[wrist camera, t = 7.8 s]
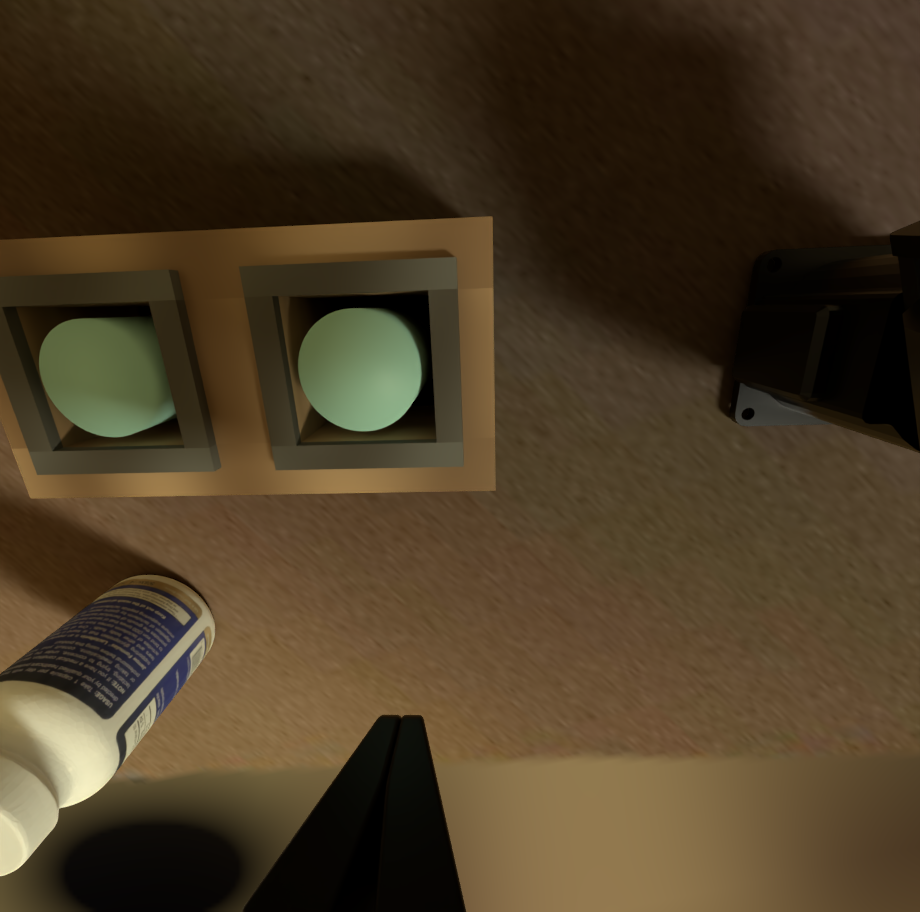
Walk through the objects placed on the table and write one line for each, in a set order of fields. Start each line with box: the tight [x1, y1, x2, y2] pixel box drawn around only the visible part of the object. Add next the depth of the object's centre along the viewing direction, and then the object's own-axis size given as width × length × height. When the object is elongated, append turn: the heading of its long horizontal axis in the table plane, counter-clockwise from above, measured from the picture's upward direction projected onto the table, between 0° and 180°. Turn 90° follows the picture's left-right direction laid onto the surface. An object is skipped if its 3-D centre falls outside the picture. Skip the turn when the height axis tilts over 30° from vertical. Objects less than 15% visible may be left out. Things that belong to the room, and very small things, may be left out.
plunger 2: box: [298, 307, 433, 431], centre depth 15 cm, size 4×4×5 cm
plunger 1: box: [39, 316, 177, 437], centre depth 16 cm, size 4×4×5 cm
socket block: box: [0, 216, 496, 498], centre depth 16 cm, size 16×8×5 cm, turn 92°
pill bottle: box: [0, 575, 215, 876], centre depth 18 cm, size 6×6×10 cm
